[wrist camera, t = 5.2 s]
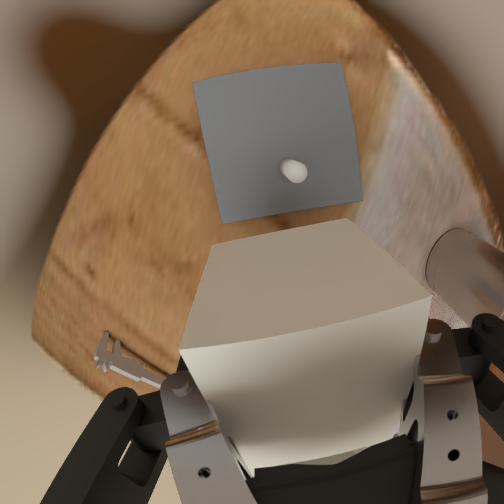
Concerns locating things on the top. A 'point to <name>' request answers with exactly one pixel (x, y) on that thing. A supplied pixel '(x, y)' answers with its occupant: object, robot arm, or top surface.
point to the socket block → (305, 342)
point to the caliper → (123, 363)
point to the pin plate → (279, 140)
